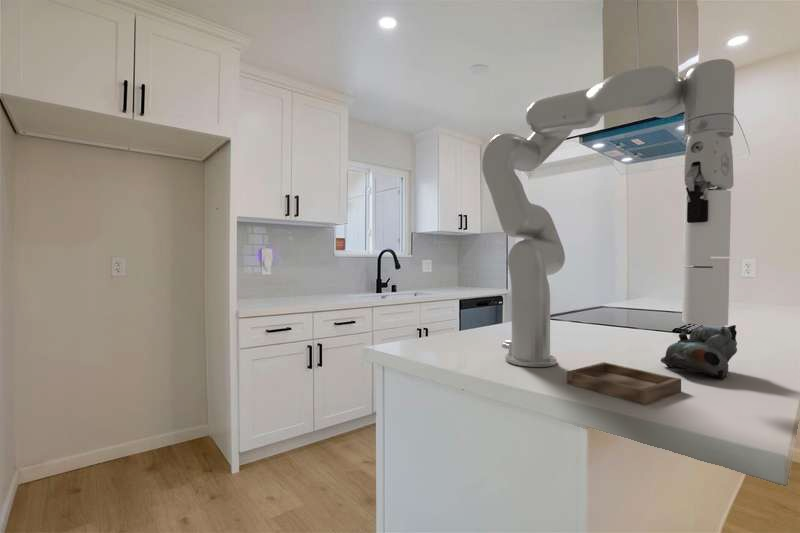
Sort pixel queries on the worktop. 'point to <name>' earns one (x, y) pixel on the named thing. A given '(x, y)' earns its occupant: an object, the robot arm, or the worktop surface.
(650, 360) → the worktop surface
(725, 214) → the cylindrical container
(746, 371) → the worktop surface
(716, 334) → the dark grey lumpy shape
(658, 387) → the walnut tray
